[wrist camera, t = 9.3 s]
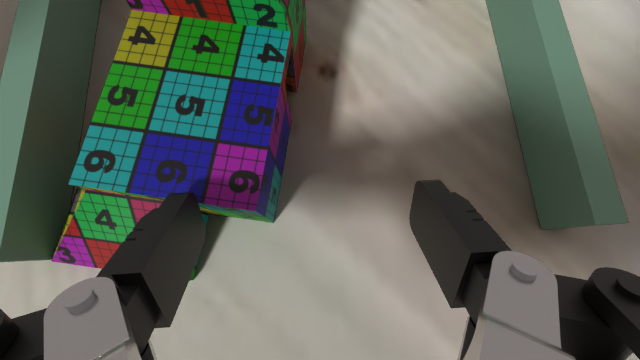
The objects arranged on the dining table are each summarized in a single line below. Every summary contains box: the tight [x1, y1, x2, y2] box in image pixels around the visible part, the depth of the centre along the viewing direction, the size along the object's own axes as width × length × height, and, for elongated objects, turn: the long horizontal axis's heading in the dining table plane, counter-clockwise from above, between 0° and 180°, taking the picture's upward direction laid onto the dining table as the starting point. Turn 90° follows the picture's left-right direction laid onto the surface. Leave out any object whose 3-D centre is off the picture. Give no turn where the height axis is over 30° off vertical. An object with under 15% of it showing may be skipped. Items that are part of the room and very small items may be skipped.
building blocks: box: [52, 0, 306, 281], centre depth 12 cm, size 15×10×8 cm
